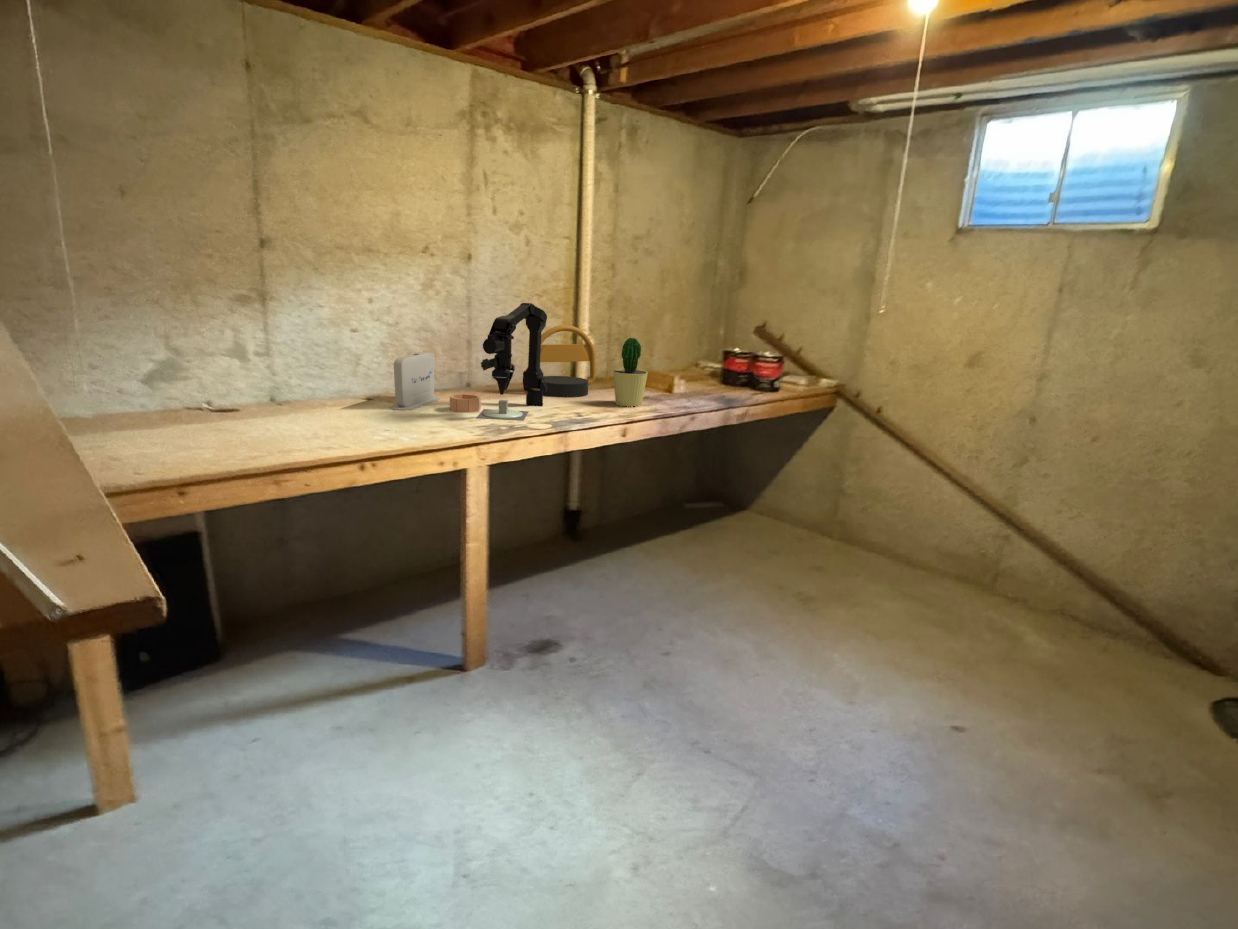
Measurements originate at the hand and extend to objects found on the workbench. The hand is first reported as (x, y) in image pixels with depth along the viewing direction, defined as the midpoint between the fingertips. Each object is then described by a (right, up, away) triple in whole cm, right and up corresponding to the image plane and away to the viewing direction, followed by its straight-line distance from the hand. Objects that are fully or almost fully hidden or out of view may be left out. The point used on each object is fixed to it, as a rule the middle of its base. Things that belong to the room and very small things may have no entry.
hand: (503, 392), depth 265 cm
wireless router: (-39, -3, +17) cm, 42 cm away
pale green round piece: (0, -8, +2) cm, 9 cm away
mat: (-1, -9, +2) cm, 9 cm away
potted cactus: (+49, -2, +40) cm, 63 cm away
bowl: (-17, -6, +9) cm, 20 cm away
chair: (+18, +6, +60) cm, 63 cm away
